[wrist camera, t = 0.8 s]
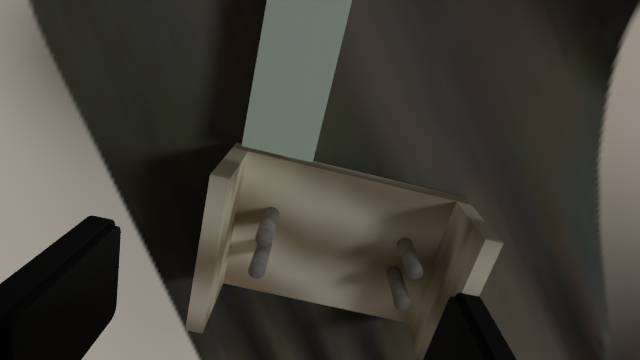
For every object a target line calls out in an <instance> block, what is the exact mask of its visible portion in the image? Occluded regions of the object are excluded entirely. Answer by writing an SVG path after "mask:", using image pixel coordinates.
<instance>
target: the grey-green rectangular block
mask: <svg viewBox="0 0 640 360" xmlns="http://www.w3.org/2000/svg"><path fill="white" fill-rule="evenodd" d="M351 2H352V0H267V2H266V8H265V14H264V20H263V25H262V31H261V37H260V43H259V48H258V54H257V60H256V66H255V72H254V77H253V83H252V89H251V95H250V100H249V106H248V112H247V118H246V124H245V129H244V135H243V141H242V146H243V147H248V148H252V149H256V150H261V151H265V152H269V153H274V154H278V155H282V156H287V157H291V158H295V159H300V160H304V161H308V162H313V159H314V155H315V150H316V146H317V142H318V138H319V134H320V130H321V126H322V122H323V117H324V113H325V109H326V105H327V101H328V97H329V93H330V89H331V85H332V80H333V76H334V72H335V68H336V64H337V60H338V56H339V52H340V48H341V43H342V39H343V35H344V31H345V27H346V23H347V19H348V15H349V10H350V6H351Z"/></svg>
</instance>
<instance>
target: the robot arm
mask: <svg viewBox="0 0 640 360" xmlns="http://www.w3.org/2000/svg"><path fill="white" fill-rule="evenodd" d="M120 233H121V231H120V227H117V226H115V222H114V221H113V220H111V219H106V218H101V217H97V216H89V217H87V218H86V219H84V220H83V221H82V222H81V223H79V224H78V225H77V226H75V227H74V228H73V229H71V230H70V231H69V232H68V233H66V234H65V235H64V236H62V237H61V238H60V239H58V240H57V241H56V242H54V243H53V244H52V245H50V246H49V247H48V248H47V249H45V250H44V251H43V252H42V253H40V254H39V255H37V256H36V257H35V258H34V259H32V260H31V261H30V262H28V263H27V264H26V265H24V266H23V267H22V268H21V269H19V270H18V271H17V272H15V273H14V274H13V275H11V276H10V277H9V278H7V279H6V280H5V281H3V282H2V283H1V284H0V360H81V359H82V358H83V357H84V355H85V354H86V353H87V351H88V350H89V349H90V347H91V346H92V344H93V343H94V342H95V341H96V339H97V338H98V337H99V335H100V334H101V333H102V331H103V330H104V329H105V328H106V326H107V325H108V324H109V322H110V321H111V319H112V317H113V316H114V313H115V310H116V303H117V302H116V301H117V285H118V268H119V251H120ZM423 360H516V358H515V356H514V355H513V353H512V351H511V349H510V348H509V346H508V344H507V343H506V341H505V339H504V337H503V336H502V334H501V332H500V330H499V329H498V327H497V325H496V324H495V322H494V320H493V318H492V317H491V315H490V313H489V311H488V310H487V308H486V306H485V305H484V303H483V301H482V299H481V298H480V297H478V296H474V295H469V294H465V293H457V294H456V295H455V297H454V296H451V297H450V298H449V299H448V301H447V304H446V306H445V308H444V311H443V313H442V316H441V318H440V320H439V323H438V325H437V328H436V330H435V332H434V335H433V337H432V340H431V342H430V344H429V347H428V349H427V351H426V354H425V356H424V359H423Z"/></svg>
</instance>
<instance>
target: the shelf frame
mask: <svg viewBox="0 0 640 360" xmlns="http://www.w3.org/2000/svg"><path fill="white" fill-rule="evenodd" d="M503 244H504V243H503V242H502V241H501V240H500V239H499V238H498V236H497V235H496V234H495V233H494V232H493V230H492V229H491V228H490V227H489V226H488V224H487V223H486V222H485V221H484V220H483V219H482V217H481V216H480V215H479V214H478V213H477V211H476V210H475V209H474V208H473V207H472V205H471V204H470V203H469V202H468V201H467V199H466V198H465V197H461V196H457V195H453V194H448V193H444V192H440V191H436V190H432V189H428V188H424V187H419V186H415V185H411V184H407V183H403V182H399V181H395V180H391V179H386V178H382V177H378V176H374V175H370V174H366V173H362V172H357V171H353V170H349V169H345V168H341V167H337V166H333V165H329V164H324V163H320V162H316V161H313V162H308V161H304V160H300V159H295V158H291V157H287V156H282V155H278V154H274V153H269V152H265V151H261V150H256V149H252V148H248V147H243V146H242V143H238V142H237V143H236V144H235V145H234V146H233V148H232V149H231V150H230V151H229V152H228V154H227V155H226V156H225V157H224V158H223V160H222V161H221V162H220V163H219V164H218V166H217V167H216V168H215V169H214V170H213V172H212V173H211V174H210V178H209V184H208V190H207V197H206V203H205V209H204V216H203V222H202V228H201V234H200V241H199V247H198V253H197V260H196V266H195V272H194V279H193V285H192V291H191V297H190V304H189V310H188V316H187V323H186V329H185V330H188V331H193V332H198V333H203V330H204V328H205V325H206V323H207V321H208V318H209V316H210V314H211V311H212V309H213V306H214V304H215V302H216V299H217V297H218V294H219V292H220V290H221V287H222V285H223V283H225V284H230V285H235V286H239V287H244V288H249V289H253V290H258V291H262V292H267V293H272V294H276V295H281V296H286V297H290V298H295V299H299V300H304V301H309V302H313V303H318V304H322V305H327V306H332V307H336V308H341V309H346V310H350V311H355V312H359V313H364V314H369V315H373V316H378V317H382V318H387V319H392V320H396V321H401V322H406V323H408V327H409V330H410V334H411V338H412V341H413V345H414V348H415V352H416V356H417V359H418V360H423V359H424V356H425V354H426V351H427V349H428V347H429V344H430V342H431V340H432V337H433V335H434V332H435V330H436V328H437V325H438V323H439V320H440V318H441V316H442V313H443V311H444V308H445V306H446V304H447V301H448V299H449V298H450V297H451V296H454V297H455V295H456V294H457V293H465V294H469V295H474V296H478V297H479V295H480V293H481V291H482V289H483V286H484V284H485V282H486V280H487V278H488V276H489V274H490V272H491V269H492V267H493V265H494V263H495V261H496V259H497V257H498V255H499V252H500V250H501V248H502V246H503Z"/></svg>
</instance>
